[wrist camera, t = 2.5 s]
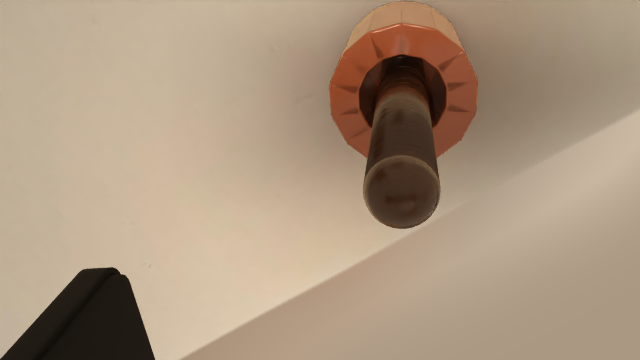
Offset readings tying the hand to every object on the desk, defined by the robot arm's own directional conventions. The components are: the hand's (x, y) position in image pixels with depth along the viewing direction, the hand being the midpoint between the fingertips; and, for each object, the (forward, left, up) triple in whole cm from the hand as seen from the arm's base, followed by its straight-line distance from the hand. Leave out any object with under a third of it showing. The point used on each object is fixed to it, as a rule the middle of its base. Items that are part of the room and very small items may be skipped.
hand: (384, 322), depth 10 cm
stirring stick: (0, 0, -20) cm, 20 cm away
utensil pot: (0, 0, -21) cm, 21 cm away
